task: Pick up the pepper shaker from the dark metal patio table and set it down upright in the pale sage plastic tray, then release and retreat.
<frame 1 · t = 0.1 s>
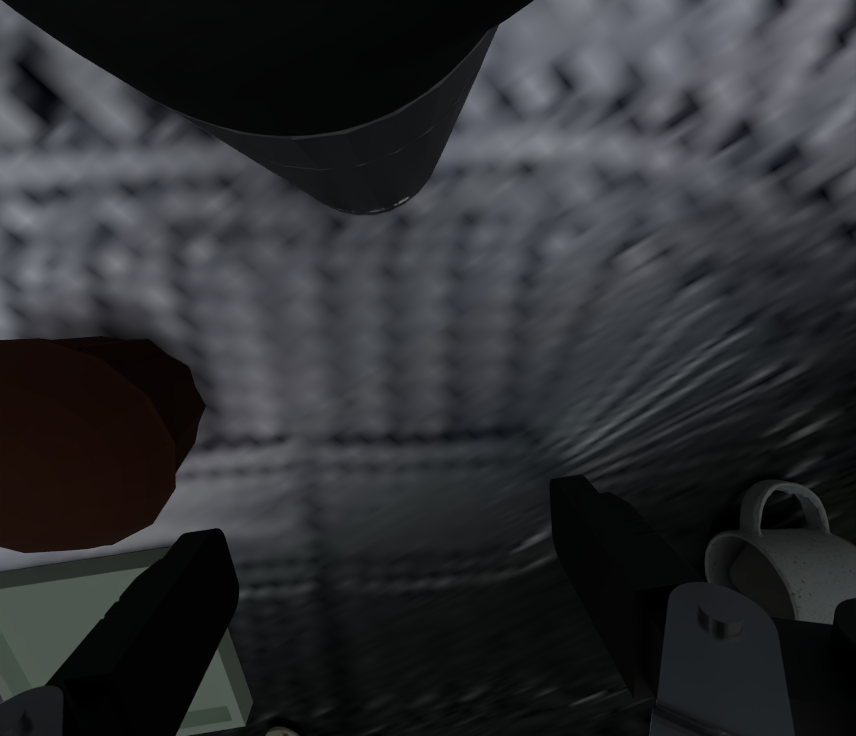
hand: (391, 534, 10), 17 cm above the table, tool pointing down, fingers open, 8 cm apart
ceramic mug: (748, 532, 33), on the table
tray: (123, 644, 31), on the table
muffin: (136, 401, 26), on the table
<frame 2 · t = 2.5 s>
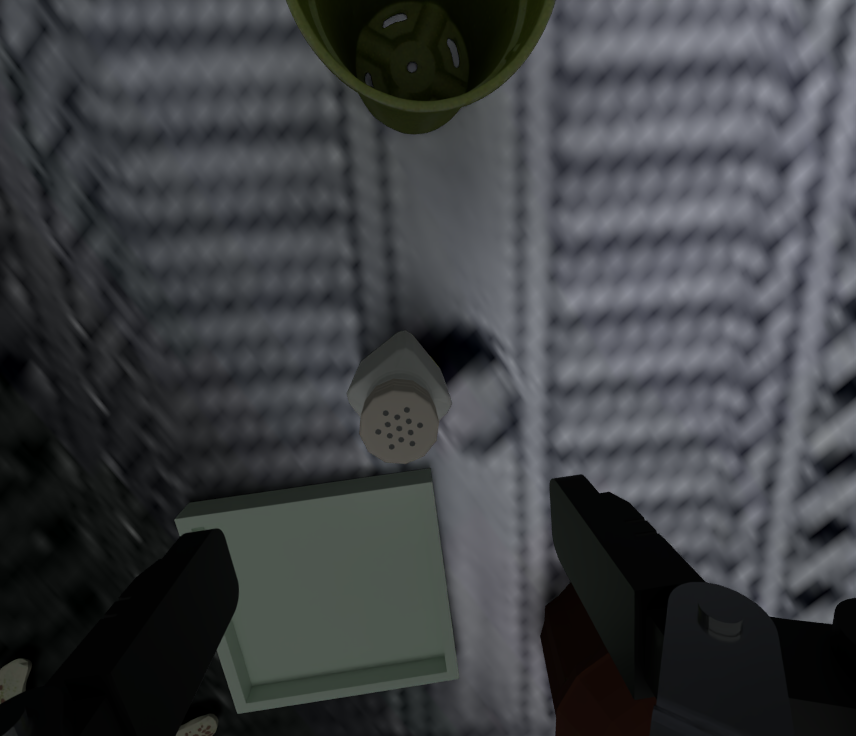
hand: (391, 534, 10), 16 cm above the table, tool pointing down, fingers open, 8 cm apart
plant pot: (413, 72, 22), on the table
decorative turtle: (114, 721, 32), on the table
pepper shaker: (400, 368, 26), on the table
tray: (332, 585, 29), on the table
muffin: (594, 620, 31), on the table
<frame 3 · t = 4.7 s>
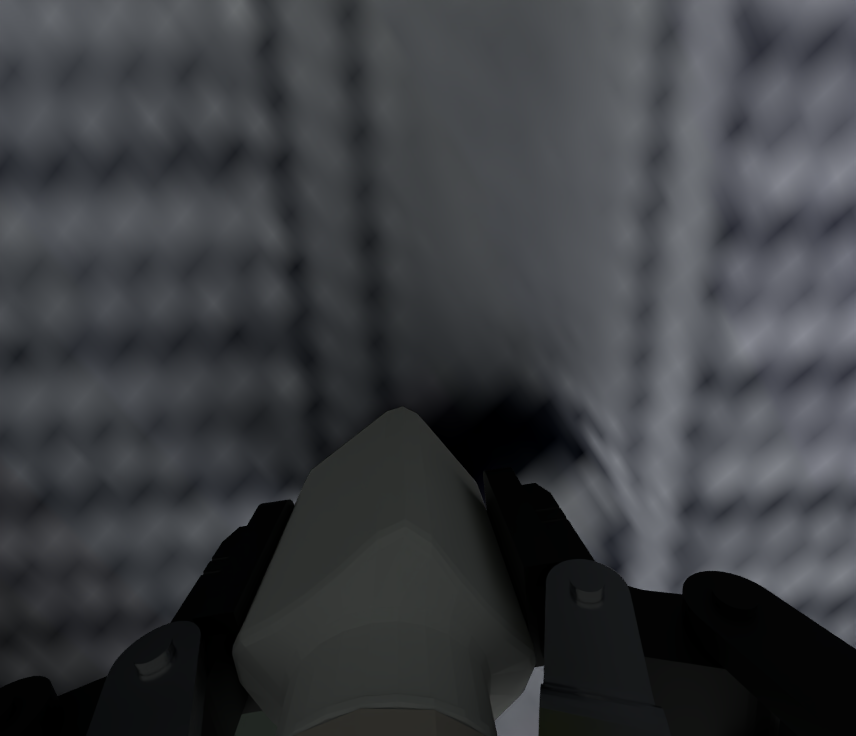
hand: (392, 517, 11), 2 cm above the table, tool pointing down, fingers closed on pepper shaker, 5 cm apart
pepper shaker: (394, 475, 13), on the table, touching gripper
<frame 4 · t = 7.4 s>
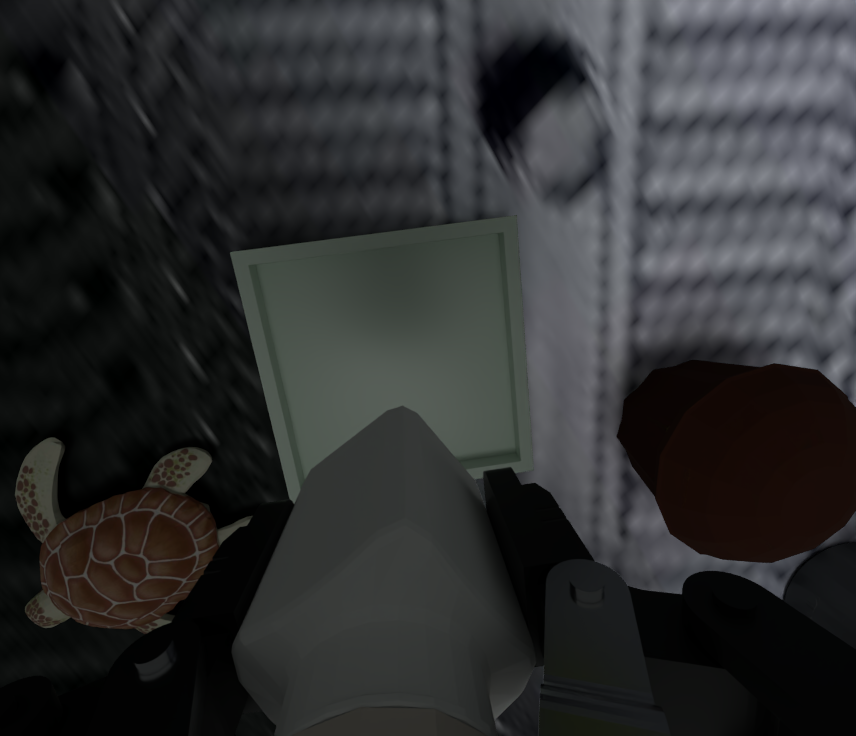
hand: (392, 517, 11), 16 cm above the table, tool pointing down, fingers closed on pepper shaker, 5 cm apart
decorative turtle: (151, 534, 29), on the table
pepper shaker: (394, 475, 13), point 14 cm above the table, touching gripper
tray: (396, 364, 26), on the table
muffin: (675, 421, 29), on the table
when the fingers open (4 cm above the table, at t = 10.4 s): pepper shaker drops 1 cm, resting on tray.
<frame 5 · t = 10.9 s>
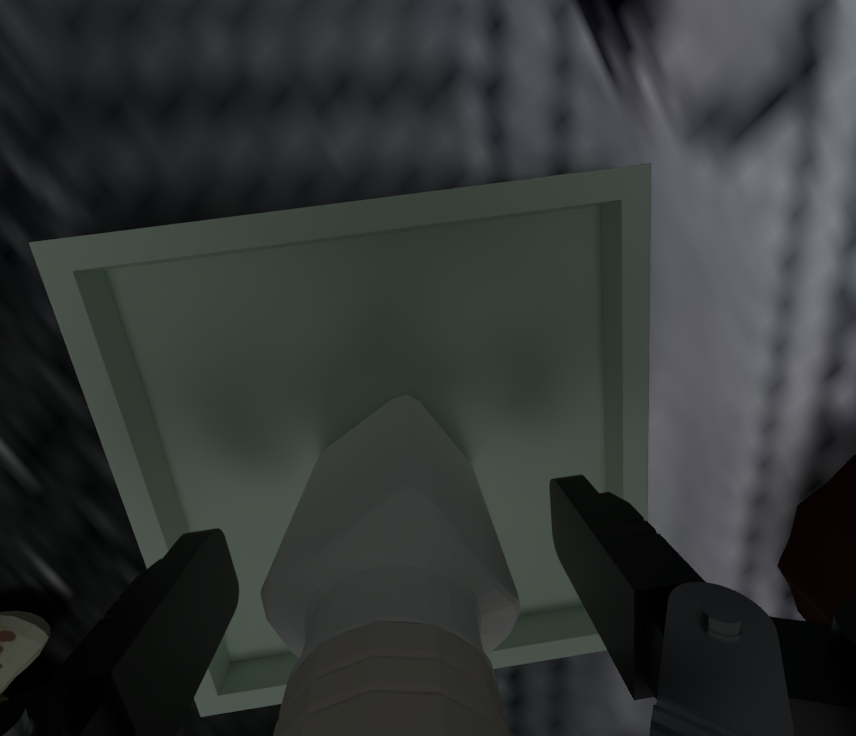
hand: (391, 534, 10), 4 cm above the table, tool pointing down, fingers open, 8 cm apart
pepper shaker: (397, 459, 14), resting on tray
tray: (394, 453, 14), on the table
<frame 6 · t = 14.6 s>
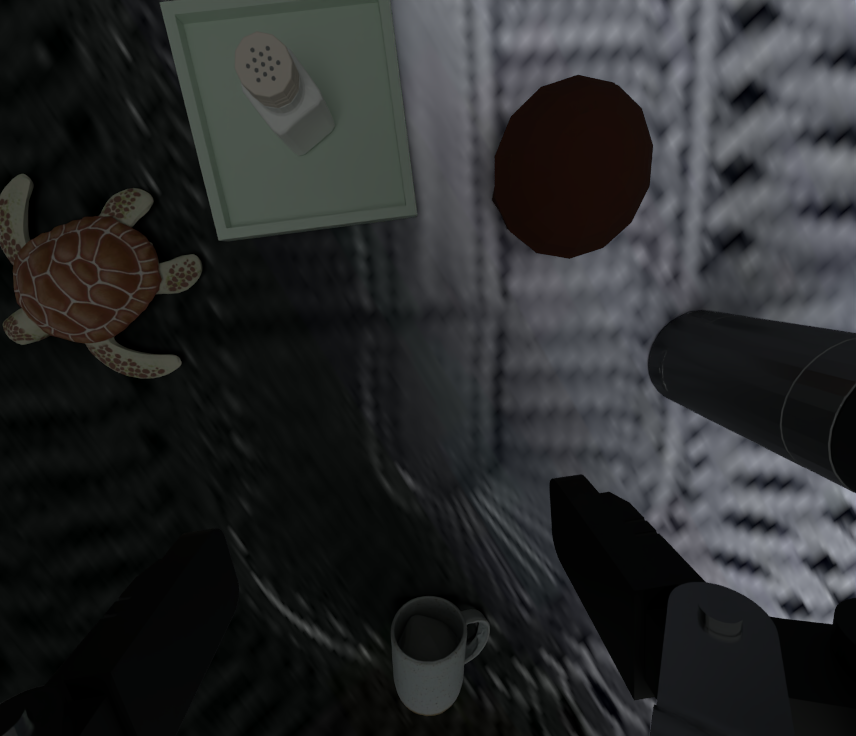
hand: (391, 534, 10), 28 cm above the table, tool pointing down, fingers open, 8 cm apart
ceramic mug: (438, 619, 46), on the table
decorative turtle: (108, 282, 35), on the table
pepper shaker: (303, 122, 32), resting on tray
tray: (303, 124, 32), on the table
muffin: (541, 188, 35), on the table
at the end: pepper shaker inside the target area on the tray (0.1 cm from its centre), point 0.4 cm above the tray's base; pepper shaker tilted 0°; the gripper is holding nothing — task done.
